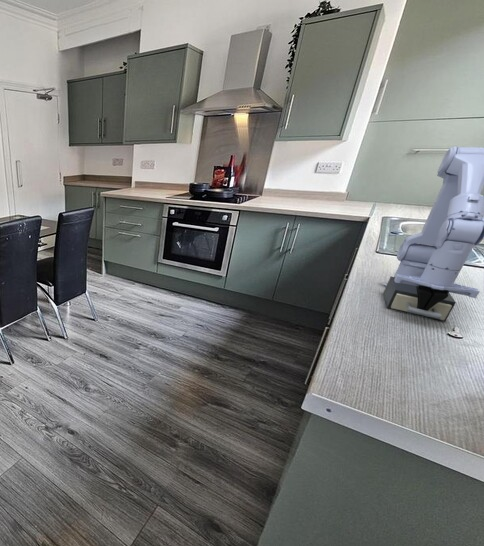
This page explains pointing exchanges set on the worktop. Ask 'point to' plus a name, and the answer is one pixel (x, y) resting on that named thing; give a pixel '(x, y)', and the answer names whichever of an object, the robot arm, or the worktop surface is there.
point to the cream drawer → (410, 305)
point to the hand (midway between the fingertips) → (419, 312)
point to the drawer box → (410, 290)
